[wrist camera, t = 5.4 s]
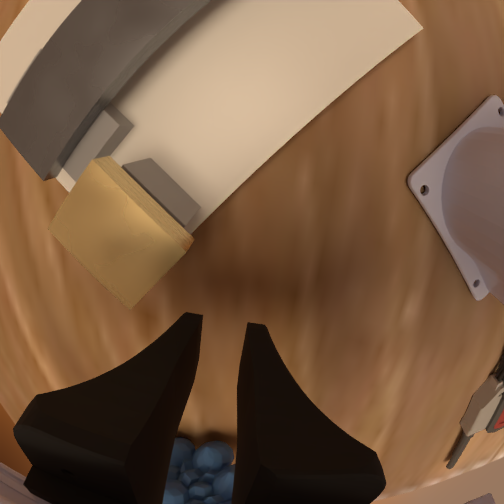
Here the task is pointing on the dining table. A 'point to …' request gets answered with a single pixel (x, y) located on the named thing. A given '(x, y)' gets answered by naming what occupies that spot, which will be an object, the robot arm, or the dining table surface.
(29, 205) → the dining table surface
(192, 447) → the grapes
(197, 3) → the strap
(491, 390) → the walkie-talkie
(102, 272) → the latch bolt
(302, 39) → the latch base plate
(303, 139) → the dining table surface
